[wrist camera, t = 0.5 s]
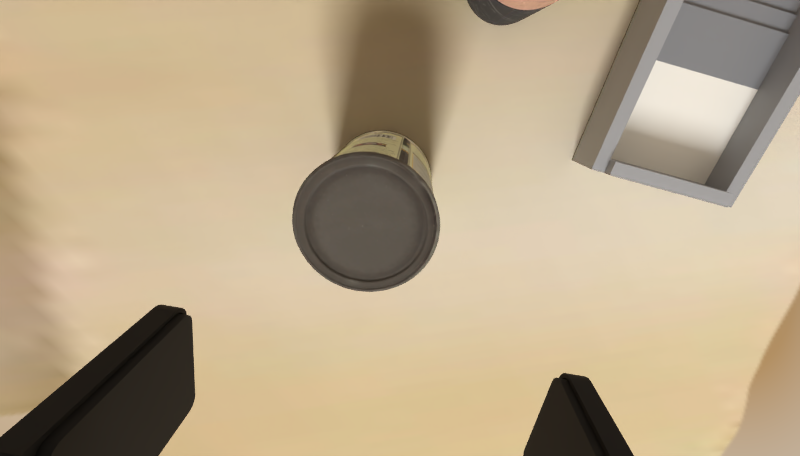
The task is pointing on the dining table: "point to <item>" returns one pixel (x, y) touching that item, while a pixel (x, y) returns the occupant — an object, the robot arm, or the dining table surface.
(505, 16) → the travel mug
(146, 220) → the dining table surface
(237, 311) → the dining table surface
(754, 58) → the drawer housing
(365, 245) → the coffee can
